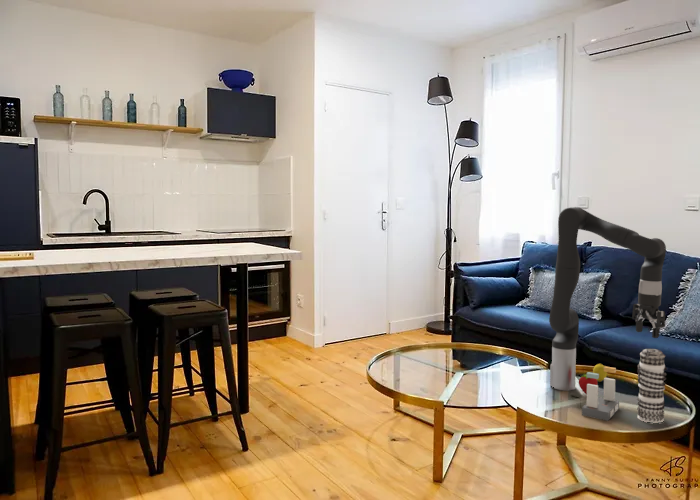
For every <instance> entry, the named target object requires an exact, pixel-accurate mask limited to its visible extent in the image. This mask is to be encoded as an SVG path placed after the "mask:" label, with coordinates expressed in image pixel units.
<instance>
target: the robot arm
mask: <svg viewBox="0 0 700 500" xmlns="http://www.w3.org/2000/svg"><path fill="white" fill-rule="evenodd" d="M558 215H559V216H558V220H557V221H558V223H557V224H558V226H557V227H558V242H557V251H556V264H555V271H554V273H555V274H554V285H553V286H554V287H553V297H552V302H551V303H552V304H551V307H550V312H549V318H548V319H549V320H548V322H549V326H550V328H551V329H552V330H553V331H555V332H556V334H555V336H554V337H553V339H552V340H551V342H552V343H551V346H552V347H551V360H552V361H551V363H550V366H549V367H550V368H549V369H550V370H549V371H550V372H549V374H550V375H549V386H552V387H551V388H553V387H554V388H553V389H555V390H558V391H573V390H575V389H576V376H577V375H576V373H577V372H576V365H577V364H576V363H577V362H576V361H577V360H576V359H577V342H578V340H579V329H580V326H579V324H580V320H579V316H578V315H579V314H578V313H577V311H575V310H574V309H572V308H571V300H572V297H573V294H574V292H575V290H576V287H577V286H578V283H579V279H580V274H581V273H580V272H581V258H580V254H579V250H578V236H579V235H578V234H579V230H580V231H581V230H582V231H585V232H586V231H587V232H590V233H593V234H595V235H598V236H600V237H601V238H603V239H604V240H606V241H608V242H610V243H612V244H615V245H617V246H619V247H621V248H624V249H628V250H630V251H632V252H634V253H635V254H637V255H639V256H640V257H644V262H643V263H642V265H641V268H640V275H639V276H640V277H639V284H638V297H637V298H638V299H637V303H634V304H633V307H632V312H631V313H632V314H631V315H632V316H631V318H632V320H634V321H635V331H636V332H637V333H642V332H643V326H644V324H643V323H644V322H643V321H644V320H645V319H646V320H648V321H649V322H650V323H651V325H652V333H651V337H652V338H654V339H659V337H660V331H661V330H660V329H661V328H665V327H666V312H665V311H663V310H660V309H659V307H660V306H661V305H662V291H663V290H662V289H663V285H662V283H663V282H662V281H663V279H662V278H663V265H664V262H665V258H666V252H667V246H666V244H665V241H663V239H661V238H657V237H654V238H648V237H646V236H643V235H640V234H639V233H638V232H637V231H635V230H633V229H629V228H627V227H624V226H621V225H619V224H616V223H613V222H610V221H607V220H604V219H602V218H600V217H598V216H596V215H594V214H592V213H590V212H589V211H587V210H586V209H584V208H583V207H582V208H581V207H578V206H574V207H573V206H571V207H566V208H564V209H563V210H561V211H560V213H559V214H558Z"/></svg>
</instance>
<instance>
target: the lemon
mask: <svg viewBox="0 0 700 500" xmlns="http://www.w3.org/2000/svg"><path fill="white" fill-rule="evenodd" d="M605 366H606V365H603V364H602V363H597V364H596V365H594V367H593V369H592V373H597V374H599V378H598V379H597V382H599V383H601V382H602V381H604V378H607V375H608V372H605V371H604V367H605Z"/></svg>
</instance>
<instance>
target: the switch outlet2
mask: <svg viewBox="0 0 700 500" xmlns="http://www.w3.org/2000/svg"><path fill="white" fill-rule="evenodd" d="M604 366H605V367H604V371H605V372H607V373H612V374H615V373H616V372H617V368H616V367H610V366H606V365H604ZM603 398H604V400H610V401H615V400H616V379H614V378H609V377H606V378H604V380H603Z"/></svg>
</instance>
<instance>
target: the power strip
mask: <svg viewBox="0 0 700 500" xmlns="http://www.w3.org/2000/svg"><path fill="white" fill-rule="evenodd" d="M619 409H620V400H619V399H618V400H616V399H615V401H610V400H604V397H602V396H598V408H594V407H589V406H587V402H586V403H585V404H584V405H582V407H581V416H582V417H583V416H584V417H588V418H592V419H593V418H594V419H597V420H602V419H603V421H606V422H607V421H608V422H609V420H610V419H611V418H612V417H613V416H614V415H615V414H616V413H617V411H618V410H619Z"/></svg>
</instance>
